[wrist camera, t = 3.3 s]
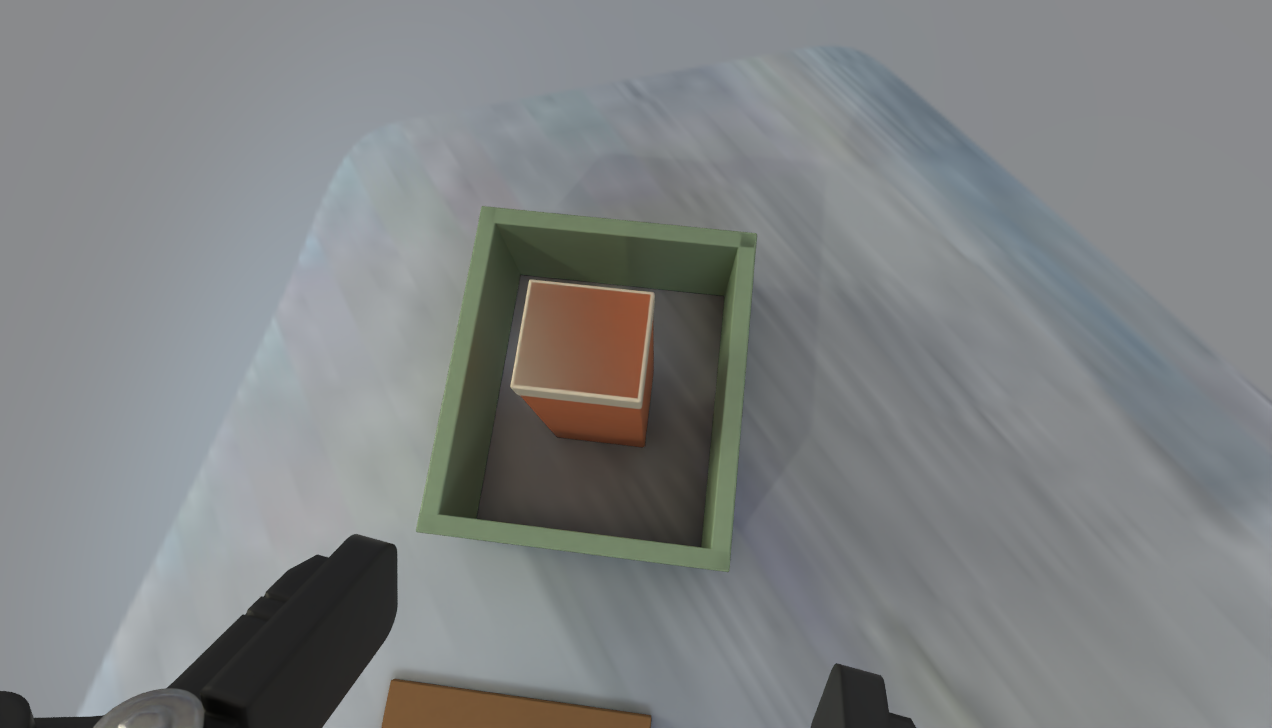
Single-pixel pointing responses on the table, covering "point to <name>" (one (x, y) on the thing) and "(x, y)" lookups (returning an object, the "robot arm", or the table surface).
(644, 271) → the bin
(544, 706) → the cork mat
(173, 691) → the robot arm
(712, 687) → the table surface
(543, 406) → the tea packet
